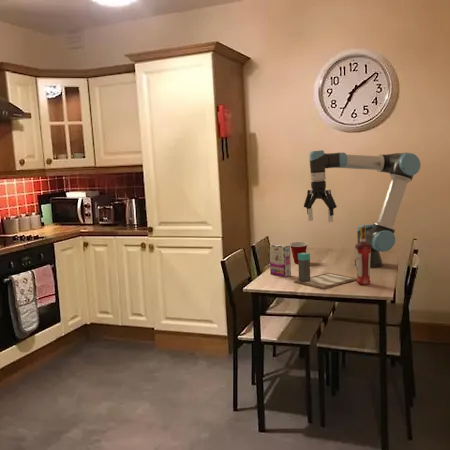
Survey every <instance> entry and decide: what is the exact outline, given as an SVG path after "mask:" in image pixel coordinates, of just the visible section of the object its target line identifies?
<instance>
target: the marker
mask: <svg viewBox="0 0 450 450" xmlns="http://www.w3.org/2000/svg"><path fill="white" fill-rule="evenodd" d="M297 265H298V280H299V281H301V282H308V281H310V277H311V253H309V252H306V253H299V254H298V264H297Z"/></svg>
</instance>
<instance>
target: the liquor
mask: <svg viewBox="0 0 450 450" xmlns="http://www.w3.org/2000/svg"><path fill="white" fill-rule="evenodd" d="M365 231H366V227H360V243H358V242H357V243H356V244H355V245H354V246H355V249H354V250H355V251H354V252H355V259H356V265H355V266H356V278H357V280H356V281H355V282H356V283H357V284H358V285H360V286H368V285H369V284H370V283H371V282H372V281H371V267H370V258H371V245H369V244H368V243H366V237H365Z"/></svg>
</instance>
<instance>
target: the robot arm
mask: <svg viewBox="0 0 450 450" xmlns="http://www.w3.org/2000/svg"><path fill="white" fill-rule="evenodd" d="M346 153H347V152H346ZM346 153H345V152H331V153H325V151H324V150H312V151H310V152H309V168H310V169H309V170H310V181H311V182H310V185H311V187H310V188H311V189H308V190H307V194H306V197H305V201H304V204H303V208H306V212H307V213H306V214H307V219H308V220H307V221H308V222H311V221H314V216H313V215H314V214H313V212H314V211H313V205H314V203H315V202H316V200H320V199H321V200H322V201H323V202H324V204H325V206H326V207H327V208H328V209H327V219H328V221H327V222H328V223H333V222H334V216H335V215H334V214H335V213H334V209H336V208H337V204H336V202H335V200H334V198H333V195H332V190H331V189H326V187H327V183H326V169H335V168H336V169H350V170H351V169H352V170H353V169H354V170H368V171H369V170H372V171H373V170H374V171H377V172H378V173H386V174H389V176H390V178H391V180H390V182H389V184H388V185H389V186H388V188H387V192H386V195H385V197H384V201H383V204H382V205H381V206H382V207H381V209H380V211H379V216H378V218H377V220H376V221H375V222H373V223H371V224H361V225H358V226H357V229H356V232H357V244H358V243H360V227H366V231H365V237H366V243H368V244H369V245H371V258H370V268H379V267H382V266H383V259H382V256H381V253H380V252H382V253H383V252H387V251H390V250H391V249H392V248H394V245H395V244H396V237H395V236H396V235H395V231H396V229H395V227H394V226H395V225H394V224H395V222H396V219H397V217H398V216H397V215H398V213H399V210H400V207H401V204H402V201H403V199H404V195H405V192H406V189H407V186H408V184H409V183H410V182H412V181H413V178H414V176H415V175H417V174H418V173H419V171H420V169H421V160H420V158H419V157H418V156H417V155H416V154H415V153H413V152H397V153H390V154H389V153H388V154H378V155H364V154H363V155H362V154H346ZM354 266H356V258H355V260H354Z"/></svg>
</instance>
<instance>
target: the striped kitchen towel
mask: <svg viewBox="0 0 450 450" xmlns="http://www.w3.org/2000/svg"><path fill="white" fill-rule="evenodd" d="M356 281H357V277H352V276H347V275H343V274H338V273H337V274H336V273H333V272H324V273H322V274H318V275H314V276H310V281H308V282H301V281H299V279H298V280H295V281H294V280H293V283H294V284H299V285H302V286H306V287H311V288H315V289H320V290H326V289H330V288H334V287H337V286H341V285H344V284H348V283H351V282H356Z"/></svg>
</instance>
